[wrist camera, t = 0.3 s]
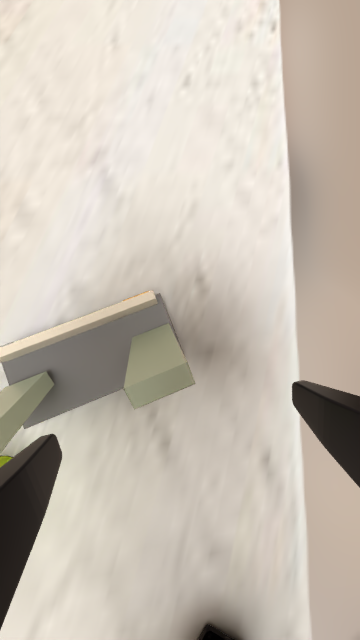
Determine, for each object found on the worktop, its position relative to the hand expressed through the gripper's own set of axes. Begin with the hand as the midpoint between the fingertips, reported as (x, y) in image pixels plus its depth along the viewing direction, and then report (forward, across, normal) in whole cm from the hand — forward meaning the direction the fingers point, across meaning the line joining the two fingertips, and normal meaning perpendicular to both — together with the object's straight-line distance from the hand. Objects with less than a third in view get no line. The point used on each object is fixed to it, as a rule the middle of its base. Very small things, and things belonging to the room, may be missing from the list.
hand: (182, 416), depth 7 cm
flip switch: (+14, +1, +1) cm, 14 cm away
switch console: (+16, +8, +3) cm, 18 cm away
